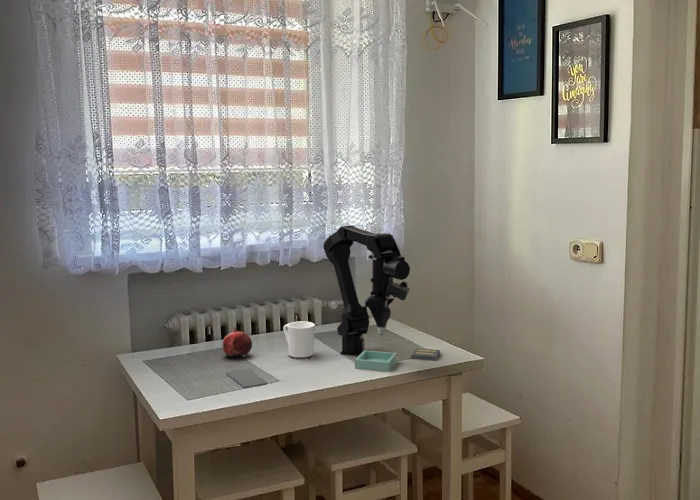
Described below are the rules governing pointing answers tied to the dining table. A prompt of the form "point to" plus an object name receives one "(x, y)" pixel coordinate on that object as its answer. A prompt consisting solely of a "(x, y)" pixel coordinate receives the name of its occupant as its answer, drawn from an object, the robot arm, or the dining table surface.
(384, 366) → the teal square tray
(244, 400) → the dining table surface
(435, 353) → the pad
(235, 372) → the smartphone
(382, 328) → the light bulb
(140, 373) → the dining table surface
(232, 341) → the fruit
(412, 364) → the dining table surface
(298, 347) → the mug
